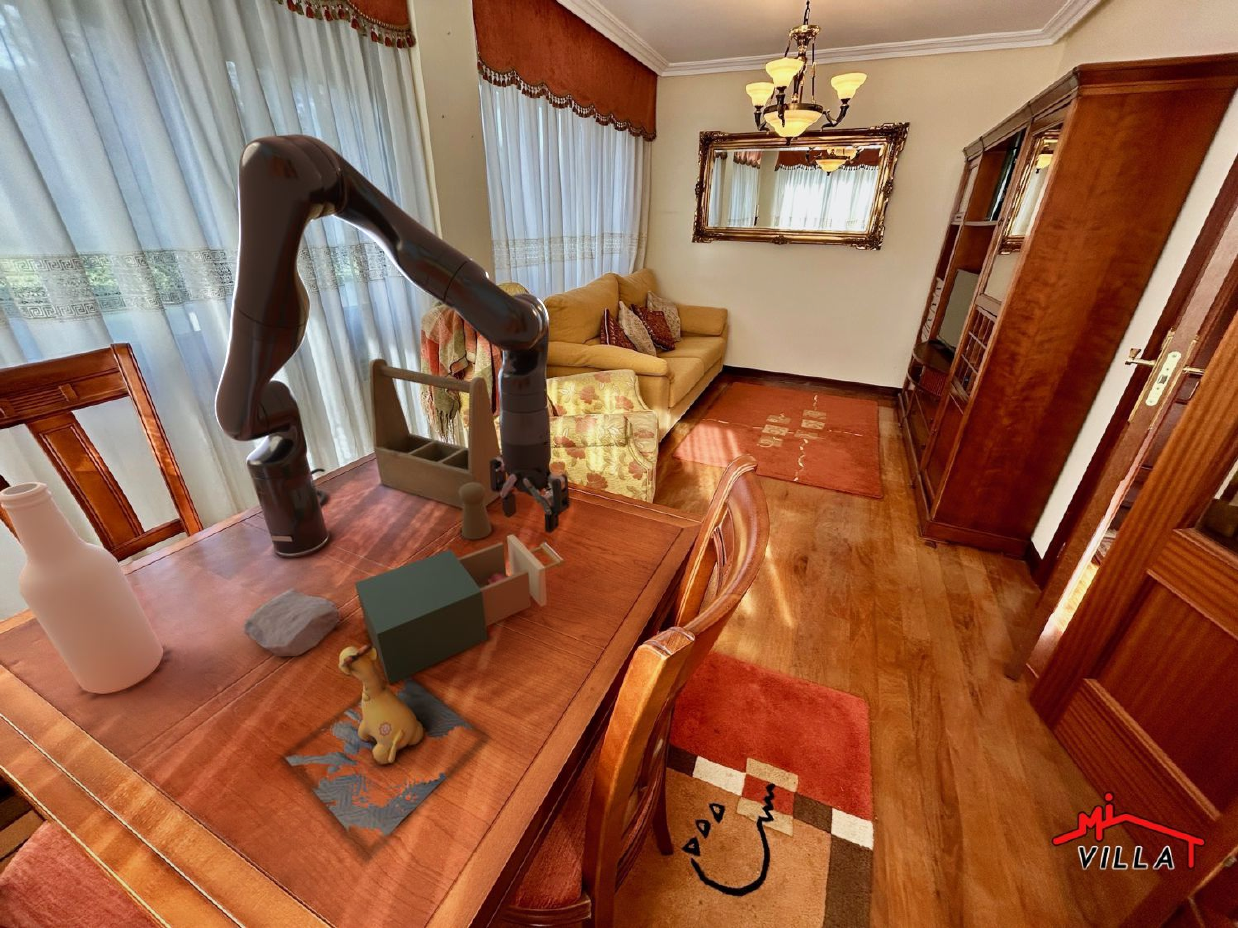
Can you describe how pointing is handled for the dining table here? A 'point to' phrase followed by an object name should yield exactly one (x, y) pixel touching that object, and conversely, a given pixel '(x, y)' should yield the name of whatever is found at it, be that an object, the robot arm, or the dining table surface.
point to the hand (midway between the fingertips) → (530, 522)
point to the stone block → (292, 623)
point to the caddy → (427, 460)
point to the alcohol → (80, 596)
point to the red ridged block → (495, 578)
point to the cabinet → (422, 614)
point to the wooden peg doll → (474, 511)
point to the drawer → (510, 577)
